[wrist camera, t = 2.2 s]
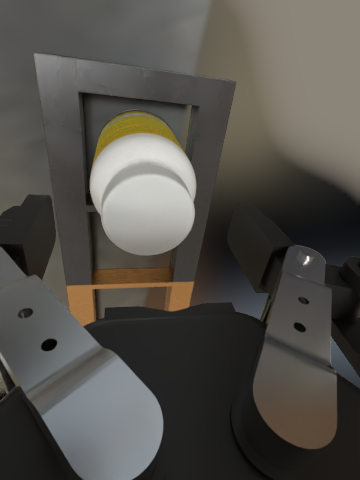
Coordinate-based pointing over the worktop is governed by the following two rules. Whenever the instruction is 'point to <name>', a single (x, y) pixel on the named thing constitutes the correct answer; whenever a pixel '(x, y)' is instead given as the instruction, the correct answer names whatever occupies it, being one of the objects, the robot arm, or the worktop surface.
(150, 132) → the supplement bottle
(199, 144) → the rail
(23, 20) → the worktop surface
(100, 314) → the worktop surface
